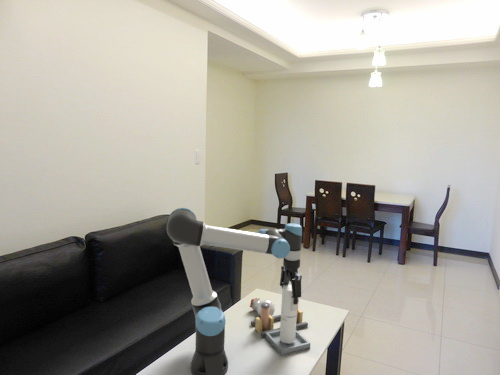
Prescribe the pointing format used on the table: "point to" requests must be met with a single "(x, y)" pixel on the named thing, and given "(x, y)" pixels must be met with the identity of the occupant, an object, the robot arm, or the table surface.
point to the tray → (287, 348)
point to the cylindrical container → (287, 316)
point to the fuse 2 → (297, 312)
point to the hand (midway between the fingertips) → (289, 306)
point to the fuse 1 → (265, 316)
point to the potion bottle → (257, 305)
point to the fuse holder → (258, 321)
